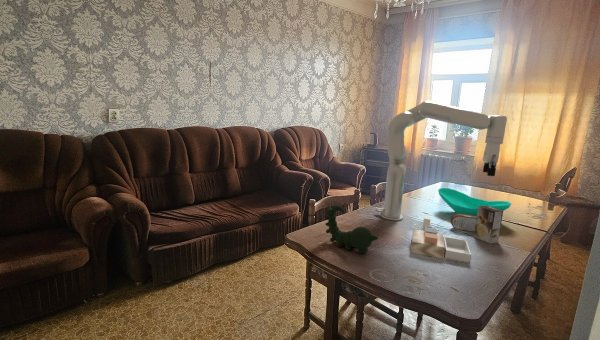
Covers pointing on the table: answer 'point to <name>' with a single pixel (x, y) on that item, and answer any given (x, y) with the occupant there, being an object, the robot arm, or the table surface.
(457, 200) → the table top decor
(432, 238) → the tile terracotta
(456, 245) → the box
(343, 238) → the toy figurine
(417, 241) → the wood grain block
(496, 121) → the robot arm
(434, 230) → the tile slate
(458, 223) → the tin
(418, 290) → the table surface
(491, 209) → the coffee box
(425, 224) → the scraper
